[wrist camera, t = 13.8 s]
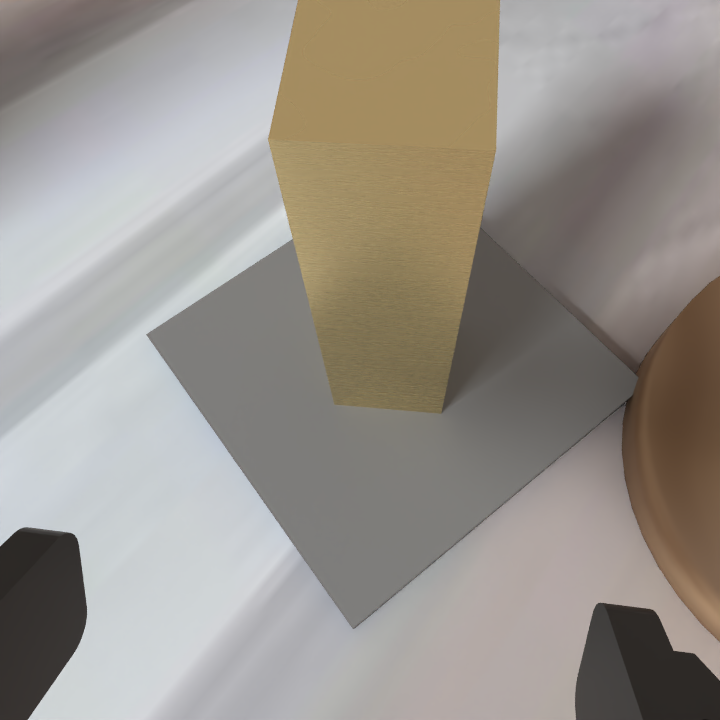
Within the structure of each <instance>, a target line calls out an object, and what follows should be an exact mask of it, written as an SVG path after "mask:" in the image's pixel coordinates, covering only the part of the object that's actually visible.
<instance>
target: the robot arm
mask: <svg viewBox="0 0 720 720" xmlns="http://www.w3.org/2000/svg"><path fill="white" fill-rule="evenodd" d="M86 619H87V605H86V597H85V590H84V582H83V574H82V566H81V558H80V551H79V544H78V540H77V538H76V537H75V535H74V534H72V533H67V532H60V531H52V530H44V529H36V528H28V527H25V528H21V529H19V530H18V531H16V532H15V533H14V534H13V535H12V536H11V537H10V538H9V539H8V540H7V541H6V542H5V543H3V544H2V545H1V546H0V720H28V718H29V717H30V715H31V714H32V713H33V711H34V710H35V708H36V707H37V705H38V704H39V703H40V701H41V700H42V698H43V697H44V695H45V694H46V692H47V691H48V690H49V688H50V687H51V685H52V684H53V682H54V681H55V680H56V678H57V677H58V675H59V674H60V672H61V671H62V669H63V668H64V667H65V665H66V664H67V662H68V661H69V659H70V658H71V657H72V655H73V654H74V652H75V650H76V649H77V647H78V645H79V643H80V641H81V638H82V635H83V632H84V629H85V625H86ZM575 710H576V720H720V681H719V679H718V678H717V677H716V676H715V675H714V674H713V673H712V672H711V671H710V670H709V669H708V668H707V667H706V666H705V664H704V663H703V662H702V661H701V660H700V659H699V658H698V657H697V656H696V655H695V654H693V653H685V652H678V651H673V649H672V646H671V644H670V642H669V639H668V637H667V635H666V632H665V630H664V628H663V626H662V623H661V621H660V619H659V617H658V615H657V614H656V612H655V611H654V610H651V609H645V608H637V607H629V606H622V605H614V604H606V603H598V604H597V605H596V606H595V609H594V611H593V615H592V619H591V623H590V627H589V631H588V635H587V640H586V644H585V648H584V652H583V656H582V661H581V665H580V669H579V673H578V677H577V683H576V693H575Z"/></svg>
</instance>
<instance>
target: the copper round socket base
mask: <svg viewBox="0 0 720 720" xmlns="http://www.w3.org/2000/svg"><path fill="white" fill-rule="evenodd" d="M636 375H637V376H638V380H637V383H636V386H635V389H634V392H633V395H632V396H631V397H630V398H629V399H628V400H627V403H626V408H625V414H624V419H623V431H622V456H623V465H624V475H625V481H626V485H627V489H628V493H629V497H630V501H631V506H632V509H633V511H634V514H635V517H636V519H637V522H638V525H639V527H640V530H641V533H642V535H643V538H644V540H645V542H646V544H647V545H648V547H649V549H650V551H651V553H652V555H653V557H654V559H655V561H656V563H657V565H658V567H659V568H660V570H661V571H662V573H663V574H664V576H665V577H666V579H667V580H668V582H669V583H670V585H671V586H672V588H673V589H674V591H675V592H676V594H677V595H678V597H679V598H680V599H681V600H682V601H683V603H684V604H685V605H686V606H687V607H688V609H689V610H690V611H691V612H692V613H693V615H694V616H695V617H696V618H697V619H698V621H699V622H700V623H701V624H702V625H703V626H704V627H705V628H706V629H707V630H708V631H709V632H710V633H711V634H712V635H713V636H714V637H715V638H716V639H717V640H718V641H719V642H720V276H719V277H718V278H716V279H715V280H713V281H712V282H711V283H709V284H708V285H707V286H706V287H705V288H704V289H703V290H702V291H701V292H700V293H699V294H698V295H697V296H696V297H695V298H694V299H692V300H691V302H690V303H689V304H688V305H687V306H686V307H685V308H684V310H683V311H682V312H681V313H680V314H679V315H678V317H677V318H676V319H675V320H674V321H673V322H672V323H671V325H670V326H669V327H668V328H667V329H666V330H665V331H664V333H663V334H662V335H661V336H660V337H659V339H658V340H657V341H656V343H655V344H654V345H653V346H652V348H651V349H650V350H649V352H648V353H647V354H646V356H645V358H644V360H643V362H642V364H641V366H640V367H639V369H638V371H637V373H636Z"/></svg>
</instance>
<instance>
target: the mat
mask: <svg viewBox="0 0 720 720" xmlns="http://www.w3.org/2000/svg"><path fill="white" fill-rule="evenodd" d="M146 335H147V336H148V338H149V339H150V340H151V342H152V343H153V345H154V346H155V347H156V349H157V350H158V352H159V353H160V355H161V356H162V357H163V359H164V360H165V362H166V363H167V365H168V366H169V367H170V369H171V370H172V372H173V373H174V375H175V376H176V377H177V379H178V380H179V382H180V383H181V385H182V386H183V387H184V389H185V390H186V392H187V393H188V395H189V396H190V397H191V399H192V400H193V402H194V403H195V405H196V406H197V407H198V409H199V410H200V412H201V413H202V414H203V416H204V417H205V419H206V420H207V422H208V423H209V424H210V426H211V427H212V429H213V430H214V432H215V433H216V434H217V436H218V437H219V439H220V440H221V442H222V443H223V444H224V446H225V447H226V449H227V450H228V452H229V453H230V454H231V456H232V457H233V459H234V460H235V462H236V463H237V464H238V466H239V467H240V469H241V470H242V472H243V473H244V474H245V476H246V477H247V479H248V480H249V481H250V483H251V484H252V486H253V487H254V489H255V490H256V491H257V493H258V494H259V496H260V497H261V499H262V500H263V501H264V503H265V504H266V506H267V507H268V509H269V510H270V511H271V513H272V514H273V516H274V517H275V519H276V520H277V521H278V523H279V524H280V526H281V527H282V529H283V530H284V531H285V533H286V534H287V536H288V537H289V539H290V540H291V541H292V543H293V544H294V546H295V547H296V548H297V550H298V551H299V553H300V554H301V556H302V557H303V558H304V560H305V561H306V563H307V564H308V566H309V567H310V568H311V570H312V571H313V573H314V574H315V576H316V577H317V578H318V580H319V581H320V583H321V584H322V586H323V587H324V588H325V590H326V591H327V593H328V594H329V596H330V597H331V598H332V600H333V601H334V603H335V604H336V606H337V607H338V608H339V610H340V611H341V613H342V614H343V615H344V617H345V618H346V620H347V621H348V623H349V624H350V625H351V627H352V628H353V629H354V628H356V627H357V626H358V625H359V624H360V623H362V622H363V621H364V620H365V619H366V618H368V617H369V616H370V615H371V614H372V613H374V612H375V611H376V610H377V609H378V608H380V607H381V606H382V605H383V604H384V603H386V602H387V601H388V600H389V599H390V598H392V597H393V596H394V595H395V594H396V593H398V592H399V591H400V590H401V589H402V588H404V587H405V586H406V585H407V584H408V583H410V582H411V581H412V580H413V579H414V578H416V577H417V576H418V575H419V574H420V573H422V572H423V571H424V570H425V569H426V568H428V567H429V566H430V565H431V564H432V563H434V562H435V561H436V560H437V559H438V558H440V557H441V556H442V555H443V554H444V553H446V552H447V551H448V550H449V549H450V548H452V547H453V546H454V545H455V544H456V543H458V542H459V541H460V540H461V539H462V538H463V537H465V536H466V535H467V534H468V533H469V532H471V531H472V530H473V529H474V528H475V527H477V526H478V525H479V524H480V523H481V522H483V521H484V520H485V519H486V518H487V517H489V516H490V515H491V514H492V513H493V512H495V511H496V510H497V509H498V508H499V507H501V506H502V505H503V504H504V503H505V502H507V501H508V500H509V499H510V498H511V497H513V496H514V495H515V494H516V493H517V492H519V491H520V490H521V489H522V488H523V487H525V486H526V485H527V484H528V483H529V482H531V481H532V480H533V479H534V478H535V477H537V476H538V475H539V474H540V473H541V472H543V471H544V470H545V469H546V468H547V467H549V466H550V465H551V464H552V463H553V462H555V461H556V460H557V459H558V458H559V457H561V456H562V455H563V454H564V453H565V452H567V451H568V450H569V449H570V448H571V447H573V446H574V445H575V444H576V443H577V442H579V441H580V440H581V439H582V438H583V437H585V436H586V435H587V434H588V433H589V432H591V431H592V430H593V429H594V428H595V427H597V426H598V425H599V424H600V423H601V422H602V421H604V420H605V419H606V418H607V417H608V416H610V415H611V414H612V413H613V412H614V411H616V410H617V409H618V408H619V407H620V406H622V405H623V404H624V403H625V402H626V401H627V400H628V399H629V398H630V397H631V396H632V395H633V392H634V389H635V386H636V383H637V380H638V376H637V375H636V374H635V373H633V372H632V371H631V370H630V369H629V368H628V367H627V366H626V365H625V364H624V363H623V362H622V361H621V360H620V359H619V358H618V357H617V356H615V355H614V354H613V353H612V352H611V351H610V350H609V349H608V348H607V347H606V346H605V345H604V344H603V343H602V342H601V341H600V340H599V339H597V338H596V337H595V336H594V335H593V334H592V333H591V332H590V331H589V330H588V329H587V328H586V327H585V326H584V325H583V324H582V323H581V322H579V321H578V320H577V319H576V318H575V317H574V316H573V315H572V314H571V313H570V312H569V311H568V310H567V309H566V308H565V307H564V306H563V305H561V304H560V303H559V302H558V301H557V300H556V299H555V298H554V297H553V296H552V295H551V294H550V293H549V292H548V291H547V290H546V289H545V288H544V287H542V286H541V285H540V284H539V283H538V282H537V281H536V280H535V279H534V278H533V277H532V276H531V275H530V274H529V273H528V272H527V271H526V270H524V269H523V268H522V267H521V266H520V265H519V264H518V263H517V262H516V261H515V260H514V259H513V258H512V257H511V256H510V255H509V254H508V253H506V252H505V251H504V250H503V249H502V248H501V247H500V246H499V245H498V244H497V243H496V242H495V241H494V240H493V239H492V238H491V237H490V236H488V235H487V234H486V233H485V232H484V231H483V230H482V229H481V228H480V229H479V234H478V239H477V244H476V249H475V253H474V258H473V263H472V268H471V273H470V277H469V282H468V287H467V292H466V297H465V301H464V306H463V311H462V316H461V321H460V325H459V330H458V335H457V340H456V345H455V349H454V354H453V359H452V364H451V369H450V373H449V378H448V383H447V388H446V393H445V397H444V402H443V407H442V412H441V414H439V413H427V412H415V411H404V410H392V409H380V408H368V407H357V406H345V405H334V401H333V397H332V393H331V389H330V385H329V381H328V377H327V373H326V369H325V365H324V361H323V357H322V353H321V349H320V345H319V341H318V337H317V333H316V329H315V325H314V321H313V317H312V313H311V309H310V305H309V301H308V297H307V293H306V289H305V285H304V281H303V277H302V273H301V269H300V265H299V261H298V257H297V253H296V249H295V245H294V241H293V239H292V240H291V241H289V242H288V243H286V244H285V245H283V246H282V247H280V248H278V249H277V250H275V251H274V252H272V253H271V254H269V255H268V256H266V257H265V258H263V259H262V260H260V261H258V262H257V263H255V264H254V265H252V266H251V267H249V268H248V269H246V270H245V271H243V272H242V273H240V274H239V275H237V276H235V277H234V278H232V279H231V280H229V281H228V282H226V283H225V284H223V285H222V286H220V287H219V288H217V289H215V290H214V291H212V292H211V293H209V294H208V295H206V296H205V297H203V298H202V299H200V300H199V301H197V302H196V303H194V304H192V305H191V306H189V307H188V308H186V309H185V310H183V311H182V312H180V313H179V314H177V315H176V316H174V317H172V318H171V319H169V320H168V321H166V322H165V323H163V324H162V325H160V326H159V327H157V328H156V329H154V330H153V331H151V332H149V333H148V334H146Z"/></svg>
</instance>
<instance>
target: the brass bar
mask: <svg viewBox="0 0 720 720" xmlns="http://www.w3.org/2000/svg"><path fill="white" fill-rule="evenodd" d="M499 14H500V0H298V3H297V8H296V12H295V17H294V22H293V26H292V31H291V36H290V40H289V45H288V49H287V54H286V59H285V63H284V68H283V73H282V77H281V82H280V87H279V91H278V96H277V101H276V105H275V110H274V115H273V119H272V124H271V129H270V133H269V138H268V141H269V145H270V149H271V153H272V157H273V161H274V165H275V169H276V173H277V177H278V181H279V185H280V189H281V193H282V197H283V201H284V205H285V209H286V213H287V217H288V221H289V225H290V229H291V233H292V237H293V241H294V245H295V249H296V253H297V257H298V261H299V265H300V269H301V273H302V277H303V281H304V285H305V289H306V293H307V297H308V301H309V305H310V309H311V313H312V317H313V321H314V325H315V329H316V333H317V337H318V341H319V345H320V349H321V353H322V357H323V361H324V365H325V369H326V373H327V377H328V381H329V385H330V389H331V393H332V397H333V401H334V405H345V406H357V407H368V408H380V409H392V410H404V411H415V412H427V413H439V414H441V412H442V407H443V402H444V397H445V393H446V388H447V383H448V378H449V373H450V369H451V364H452V359H453V354H454V349H455V345H456V340H457V335H458V330H459V325H460V321H461V316H462V311H463V306H464V301H465V297H466V292H467V287H468V282H469V277H470V273H471V268H472V263H473V258H474V253H475V249H476V244H477V239H478V234H479V229H480V225H481V220H482V215H483V210H484V205H485V201H486V196H487V191H488V186H489V181H490V177H491V172H492V167H493V162H494V157H495V153H496V129H497V90H498V52H499Z"/></svg>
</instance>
